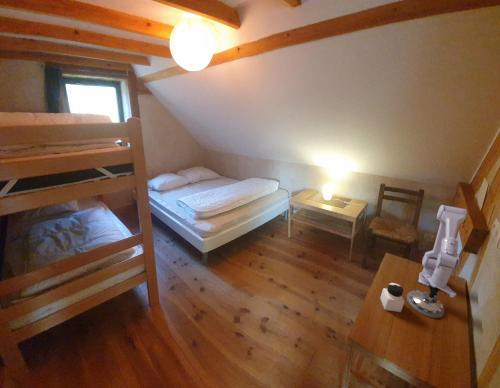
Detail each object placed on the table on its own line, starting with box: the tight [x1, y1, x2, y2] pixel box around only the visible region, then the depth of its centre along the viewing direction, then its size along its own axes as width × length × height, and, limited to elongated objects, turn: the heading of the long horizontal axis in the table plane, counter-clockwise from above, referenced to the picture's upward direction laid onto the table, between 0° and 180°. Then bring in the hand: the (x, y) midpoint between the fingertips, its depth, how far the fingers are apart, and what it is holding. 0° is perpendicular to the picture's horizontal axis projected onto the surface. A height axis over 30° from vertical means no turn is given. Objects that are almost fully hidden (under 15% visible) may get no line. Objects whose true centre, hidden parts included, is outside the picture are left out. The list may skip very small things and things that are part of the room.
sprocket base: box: [405, 290, 445, 319], centre depth 112 cm, size 15×15×1 cm
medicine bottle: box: [380, 282, 405, 313], centre depth 109 cm, size 7×7×12 cm
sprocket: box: [409, 289, 444, 314], centre depth 110 cm, size 13×13×5 cm
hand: (431, 296), depth 112 cm, fingers closed
